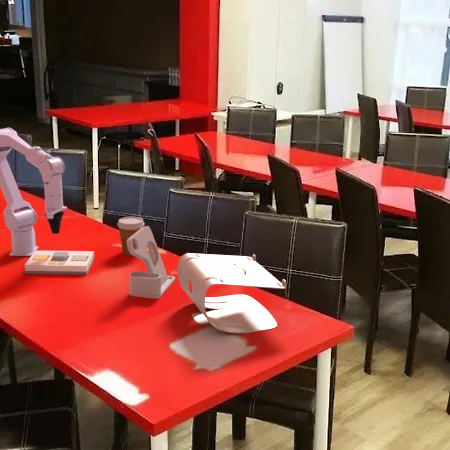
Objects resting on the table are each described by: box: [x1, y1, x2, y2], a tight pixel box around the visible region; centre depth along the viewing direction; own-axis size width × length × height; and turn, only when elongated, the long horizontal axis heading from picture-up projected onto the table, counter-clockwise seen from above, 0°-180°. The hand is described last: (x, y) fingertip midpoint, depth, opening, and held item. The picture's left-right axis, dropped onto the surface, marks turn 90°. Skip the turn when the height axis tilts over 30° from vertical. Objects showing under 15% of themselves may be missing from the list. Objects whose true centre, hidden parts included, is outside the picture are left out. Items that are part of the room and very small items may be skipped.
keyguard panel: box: [24, 250, 95, 275], centre depth 217 cm, size 14×20×3 cm
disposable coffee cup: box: [117, 216, 145, 256], centre depth 231 cm, size 10×10×12 cm
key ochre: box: [32, 255, 49, 261], centre depth 217 cm, size 4×4×2 cm
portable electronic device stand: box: [177, 252, 287, 334], centre depth 182 cm, size 26×24×16 cm
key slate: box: [52, 252, 68, 261], centre depth 216 cm, size 4×4×2 cm
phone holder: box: [127, 225, 176, 299], centre depth 200 cm, size 17×10×18 cm, turn 166°
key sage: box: [72, 255, 88, 261], centre depth 217 cm, size 4×4×2 cm
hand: (55, 233), depth 218 cm, fingers closed
